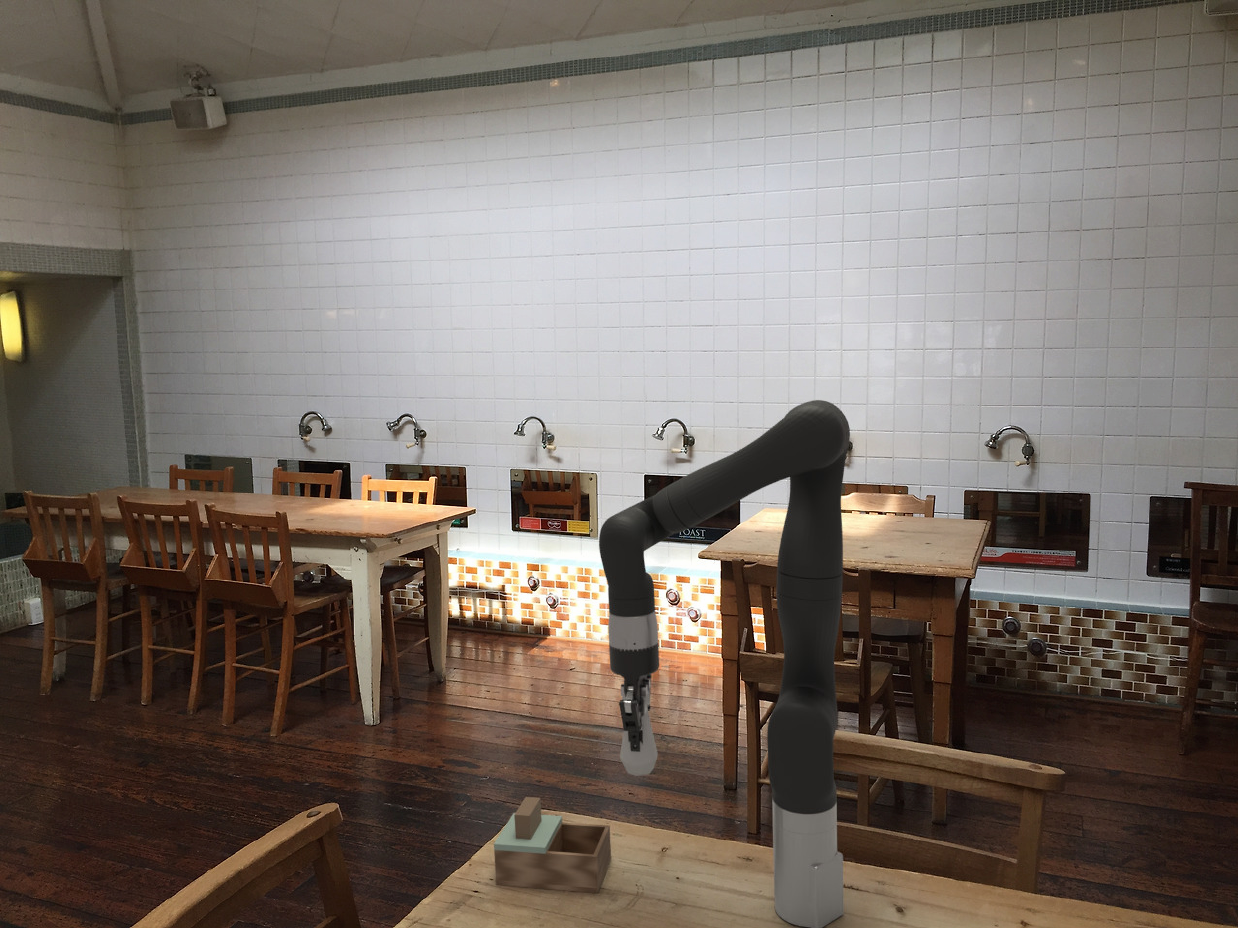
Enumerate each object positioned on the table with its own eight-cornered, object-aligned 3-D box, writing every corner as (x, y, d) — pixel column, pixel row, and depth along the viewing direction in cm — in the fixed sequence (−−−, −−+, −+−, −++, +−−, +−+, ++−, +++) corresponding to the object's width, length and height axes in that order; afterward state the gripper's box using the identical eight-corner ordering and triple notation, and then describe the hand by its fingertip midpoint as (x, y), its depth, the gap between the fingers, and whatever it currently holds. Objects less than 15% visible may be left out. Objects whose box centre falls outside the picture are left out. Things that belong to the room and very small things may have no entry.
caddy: (611, 859, 155) (609, 825, 154) (598, 892, 145) (596, 856, 145) (515, 852, 158) (513, 818, 157) (496, 884, 149) (494, 848, 148)
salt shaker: (643, 781, 141) (639, 698, 140) (613, 772, 145) (609, 691, 143) (665, 767, 146) (661, 686, 144) (635, 758, 149) (631, 680, 148)
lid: (562, 821, 156) (560, 793, 155) (545, 853, 146) (543, 823, 145) (514, 818, 157) (512, 790, 157) (494, 849, 148) (492, 819, 147)
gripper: (649, 655, 135) (655, 769, 137) (665, 626, 149) (669, 730, 151) (599, 654, 137) (605, 766, 139) (618, 625, 150) (624, 728, 152)
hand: (638, 747), depth 145 cm, fingers closed on salt shaker, 3 cm apart
